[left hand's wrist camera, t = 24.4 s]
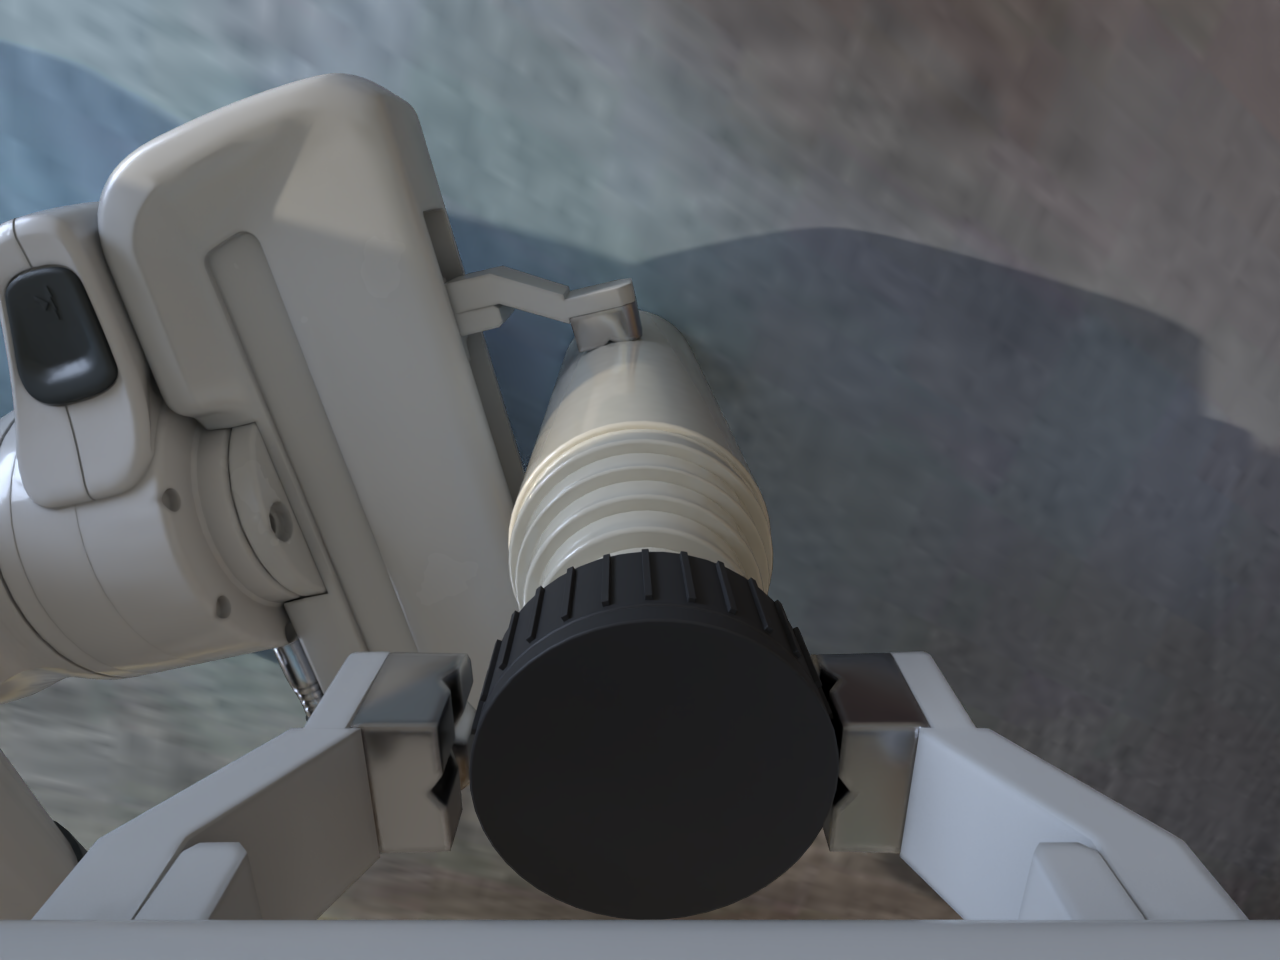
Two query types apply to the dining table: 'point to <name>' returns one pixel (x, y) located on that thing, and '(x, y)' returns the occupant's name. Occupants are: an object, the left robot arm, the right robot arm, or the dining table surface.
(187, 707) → the dining table surface
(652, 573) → the cap
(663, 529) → the bottle
